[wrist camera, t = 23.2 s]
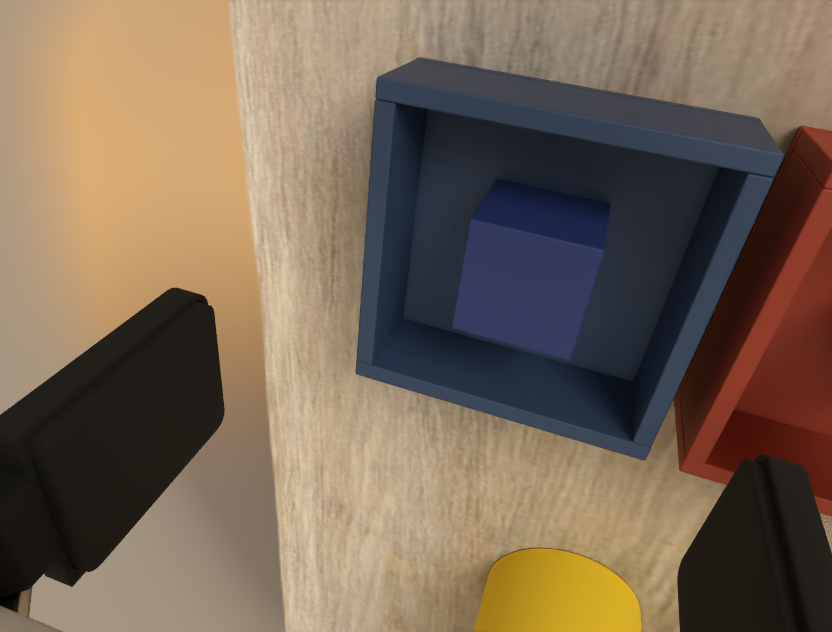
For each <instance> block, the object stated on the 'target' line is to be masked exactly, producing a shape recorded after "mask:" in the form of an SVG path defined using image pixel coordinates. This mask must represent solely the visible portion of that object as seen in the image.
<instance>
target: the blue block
mask: <svg viewBox="0 0 832 632" xmlns="http://www.w3.org/2000/svg"><path fill="white" fill-rule="evenodd" d="M610 206H611V205H610V204H609V203H606V202H601V201H596V200H592V199H587V198H583V197H578V196H573V195H569V194H564V193H560V192H555V191H550V190H546V189H541V188H537V187H532V186H527V185H523V184H518V183H514V182H509V181H504V180H500V179H496V181H495V182H494V184H493V186H492V187H491V189H490V190H489V192H488V193H487V195H486V196H485V198H484V199H483V201H482V203H481V204H480V206H479V207H478V209H477V210H476V212H475V213H474V215H473V216H472V218H471V219H470V223H469V229H468V235H467V241H466V246H465V252H464V258H463V264H462V269H461V275H460V281H459V287H458V292H457V298H456V304H455V310H454V315H453V321H452V328H453V329H456V330H460V331H463V332H467V333H471V334H474V335H478V336H482V337H485V338H489V339H492V340H496V341H500V342H503V343H507V344H511V345H514V346H518V347H522V348H525V349H529V350H533V351H536V352H540V353H544V354H547V355H551V356H555V357H558V358H562V359H566V360H570V359H571V356H572V353H573V350H574V347H575V344H576V341H577V337H578V334H579V331H580V328H581V325H582V322H583V319H584V315H585V312H586V309H587V306H588V303H589V300H590V296H591V293H592V290H593V287H594V284H595V281H596V278H597V274H598V271H599V268H600V265H601V262H602V259H603V256H604V252H605V246H606V238H607V230H608V222H609V214H610Z"/></svg>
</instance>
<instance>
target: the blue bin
mask: <svg viewBox="0 0 832 632" xmlns="http://www.w3.org/2000/svg"><path fill="white" fill-rule="evenodd" d="M783 158H784V153H783V152H782V150H781V149H780V148H779V146H778V145H777V143H776V142H775V141H774V139H773V138H772V136H771V135H770V134H769V132H768V131H767V129H766V128H765V127H764V125H763V124H762V123H761V120H760V119H759V118H755V117H749V116H744V115H738V114H733V113H727V112H721V111H716V110H710V109H705V108H699V107H694V106H688V105H682V104H677V103H671V102H666V101H660V100H655V99H649V98H643V97H638V96H632V95H627V94H621V93H615V92H610V91H604V90H599V89H593V88H588V87H582V86H576V85H571V84H565V83H560V82H554V81H549V80H543V79H537V78H532V77H526V76H521V75H515V74H510V73H504V72H498V71H493V70H487V69H482V68H476V67H471V66H465V65H459V64H454V63H448V62H443V61H437V60H432V59H426V58H420V57H419V58H417V59H416V60H414V61H411V62H409V63H407V64H405V65H403V66H401V67H398V68H396V69H394V70H392V71H390V72H387V73H385V74H383V75H381V76H379V77H377V83H376V100H375V108H374V122H373V136H372V150H371V164H370V179H369V193H368V207H367V221H366V235H365V250H364V264H363V278H362V292H361V306H360V320H359V335H358V349H357V362H356V374H357V375H361V376H364V377H367V378H371V379H374V380H377V381H381V382H384V383H387V384H391V385H394V386H397V387H401V388H404V389H407V390H411V391H414V392H417V393H421V394H424V395H427V396H431V397H434V398H437V399H441V400H444V401H447V402H451V403H454V404H457V405H461V406H464V407H467V408H471V409H474V410H477V411H481V412H484V413H487V414H491V415H494V416H497V417H501V418H504V419H507V420H511V421H514V422H517V423H521V424H524V425H527V426H531V427H534V428H537V429H541V430H544V431H547V432H551V433H554V434H557V435H561V436H564V437H567V438H571V439H574V440H577V441H581V442H584V443H587V444H591V445H594V446H597V447H601V448H604V449H607V450H611V451H614V452H617V453H621V454H624V455H627V456H631V457H634V458H637V459H641V460H646V458H647V456H648V453H649V451H650V449H651V446H652V444H653V442H654V440H655V438H656V436H657V433H658V431H659V429H660V427H661V425H662V422H663V420H664V418H665V416H666V414H667V412H668V409H669V407H670V405H671V403H672V401H673V398H674V396H675V394H676V392H677V390H678V387H679V385H680V383H681V381H682V379H683V377H684V374H685V372H686V370H687V368H688V366H689V363H690V361H691V359H692V357H693V355H694V352H695V350H696V348H697V346H698V344H699V342H700V339H701V337H702V335H703V333H704V331H705V328H706V326H707V324H708V322H709V320H710V317H711V315H712V313H713V311H714V309H715V307H716V304H717V302H718V300H719V298H720V296H721V293H722V291H723V289H724V287H725V285H726V283H727V280H728V278H729V276H730V274H731V272H732V269H733V267H734V265H735V263H736V261H737V258H738V256H739V254H740V252H741V250H742V248H743V245H744V243H745V241H746V239H747V237H748V234H749V232H750V230H751V228H752V226H753V223H754V221H755V219H756V217H757V215H758V213H759V210H760V208H761V206H762V204H763V202H764V199H765V197H766V195H767V193H768V191H769V189H770V186H771V184H772V182H773V178H772V177H774V176H775V175H776V173H777V171H778V168H779V166H780V164H781V162H782V160H783ZM496 179H500V180H504V181H509V182H514V183H518V184H523V185H527V186H532V187H537V188H541V189H546V190H550V191H555V192H560V193H564V194H569V195H573V196H578V197H583V198H587V199H592V200H596V201H601V202H606V203H609V204H610V205H611V206H610V214H609V222H608V230H607V238H606V246H605V252H604V256H603V259H602V262H601V265H600V268H599V271H598V274H597V278H596V281H595V284H594V287H593V290H592V293H591V296H590V300H589V303H588V306H587V309H586V312H585V315H584V319H583V322H582V325H581V328H580V331H579V334H578V337H577V341H576V344H575V347H574V350H573V353H572V356H571V359H570V360H566V359H562V358H558V357H555V356H551V355H547V354H544V353H540V352H536V351H533V350H529V349H525V348H522V347H518V346H514V345H511V344H507V343H503V342H500V341H496V340H492V339H489V338H485V337H482V336H478V335H474V334H471V333H467V332H463V331H460V330H456V329H453V328H452V321H453V315H454V310H455V304H456V298H457V292H458V287H459V281H460V275H461V269H462V264H463V258H464V252H465V246H466V241H467V235H468V229H469V223H470V219H471V218H472V216H473V215H474V213H475V212H476V210H477V209H478V207H479V206H480V204H481V203H482V201H483V199H484V198H485V196H486V195H487V193H488V192H489V190H490V189H491V187H492V186H493V184H494V182H495V181H496Z"/></svg>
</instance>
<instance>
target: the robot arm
mask: <svg viewBox="0 0 832 632" xmlns="http://www.w3.org/2000/svg"><path fill="white" fill-rule="evenodd" d="M223 416H224V401H223V392H222V381H221V372H220V363H219V353H218V344H217V334H216V325H215V315H214V310H213V308H212V306H210V305H208V302H207V299H206V298H205V296H203V295H200V294H197V293H193V292H190V291H187V290H183V289H179V288H171V289H169V290H167V291H166V292H165V293H163V294H162V295H161V296H160V297H158V298H156V299H155V300H154V301H152V302H151V303H150V304H148V305H147V306H146V307H144V308H143V309H142V310H140V311H139V312H138V313H136V314H135V315H134V316H132V317H131V318H130V319H128V320H127V321H126V322H124V323H123V324H122V325H120V326H119V327H118V328H116V329H115V330H114V331H112V332H111V333H110V334H108V335H107V336H106V337H104V338H103V339H102V340H100V341H99V342H97V343H96V344H95V345H93V346H92V347H91V348H89V349H88V350H87V351H85V352H84V353H83V354H81V355H80V356H79V357H77V358H76V359H75V360H73V361H72V362H71V363H69V364H68V365H67V366H65V367H64V368H63V369H61V370H60V371H59V372H57V373H56V374H55V375H53V376H52V377H51V378H49V379H48V380H47V381H45V382H44V383H43V384H41V385H40V386H38V387H37V388H36V389H34V390H33V391H32V392H30V393H29V394H28V395H26V396H25V397H24V398H22V399H21V400H20V401H18V402H17V403H16V404H15V405H13V406H12V407H11V408H9V409H8V410H6V411H5V412H4V413H2V414H1V415H0V632H62V631H60V630H57V629H56V628H53V627H51V626H48V625H46V624H44V623H41V622H39V621H36V620H34V619H31V618H29V611H30V602H31V592H32V586H33V585H34V584H35V582H36V581H37V580H38V579H39V578H40V577H41V576H42V575H43V574H45V576H47V577H49V578H52V579H54V580H57V581H59V582H61V583H64V584H66V585H69V586H71V587H73V585H75V583H76V582H77V581H78V580H79V579H80V578H81V576H82V575H83V574H84V573H85V572H86V571H87V572H90V571H93V570H95V569H96V568H98V567H99V566H100V565H101V564H102V563H103V561H104V560H105V559H106V558H107V557H108V555H110V553H111V552H112V551H113V550H114V549H115V548H116V546H117V545H118V544H119V543H120V542H121V541H122V539H123V538H124V537H125V536H126V535H127V534H128V532H129V531H130V530H131V529H132V528H133V527H134V526H135V524H136V523H137V522H138V521H139V520H140V519H141V517H142V516H143V515H144V514H145V513H146V512H147V510H148V509H149V508H150V507H151V506H152V504H153V503H154V502H155V501H156V500H157V499H158V498H159V497H160V495H161V494H162V493H163V492H164V491H165V490H166V488H167V487H168V486H169V485H170V483H172V481H173V480H174V479H175V478H176V477H177V476H178V474H179V473H180V472H181V471H182V470H183V469H184V467H185V466H186V465H187V464H188V463H189V462H190V460H191V459H192V458H193V457H194V456H195V455H196V454H197V452H198V451H199V450H200V449H201V448H202V447H203V445H204V444H205V443H206V442H207V441H208V440H209V438H210V437H211V436H212V435H213V434H214V433H215V432H216V430H217V429H218V428H219V426H220V424H221V423H222V420H223ZM678 602H679V621H680V632H832V553H831V550H830V546H829V543H828V540H827V536H826V533H825V530H824V527H823V523H822V520H821V517H820V514H819V510H818V507H817V504H816V500H815V497H814V494H813V491H812V487H811V484H810V481H809V478H808V474H807V472H806V470H805V468H804V467H803V466H801V465H798V464H795V463H791V462H788V461H784V460H781V459H777V458H774V457H770V456H767V455H759V456H758V457H756V458H755V460H754V461H750V460H743V461H742V462H741V463H740V464H739V466H738V468H737V469H736V471H735V473H734V474H733V476H732V478H731V479H730V481H729V483H728V484H727V486H726V487H725V489H724V491H723V492H722V494H721V496H720V497H719V499H718V501H717V502H716V504H715V506H714V507H713V509H712V511H711V512H710V514H709V516H708V517H707V519H706V521H705V522H704V524H703V526H702V527H701V529H700V530H699V532H698V534H697V535H696V537H695V539H694V540H693V542H692V544H691V545H690V547H689V549H688V550H687V552H686V554H685V555H684V557H683V559H682V561H681V563H680V566H679V571H678Z"/></svg>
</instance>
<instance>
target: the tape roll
mask: <svg viewBox="0 0 832 632" xmlns="http://www.w3.org/2000/svg"><path fill="white" fill-rule="evenodd" d="M474 632H641V610H640V606H639V603H638V600H637V598H636V596H635V594H634V593H633V591H632V590H631V589H630V587H629V586H628V585H627V584H626V583H625V582H624V581H623V580H622V579H621V578H620V577H619V576H618V575H616V574H615V573H614V572H612V571H611V570H609V569H608V568H606V567H605V566H603V565H601V564H599V563H597V562H595V561H593V560H591V559H588V558H586V557H583V556H581V555H578V554H574V553H571V552H566V551H561V550H555V549H543V548H537V549H526V550H520V551H516V552H513V553H510V554H508V555H506V556H504V557H502V558H501V559H500V560H498V561H497V562H496V563H495V564H494V565H493V566H492V568H491V570H490V572H489V574H488V578H487V582H486V586H485V590H484V594H483V598H482V602H481V606H480V610H479V614H478V618H477V622H476V626H475V630H474Z"/></svg>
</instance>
